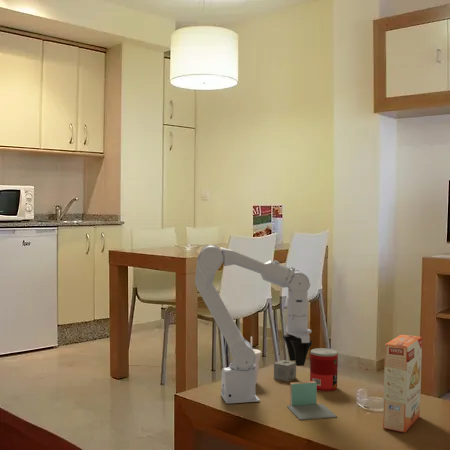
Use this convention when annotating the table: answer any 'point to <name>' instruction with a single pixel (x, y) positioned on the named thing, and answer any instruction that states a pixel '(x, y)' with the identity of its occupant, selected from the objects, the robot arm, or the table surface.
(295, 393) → the tile
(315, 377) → the canned food
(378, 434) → the table surface
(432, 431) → the table surface
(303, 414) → the mat
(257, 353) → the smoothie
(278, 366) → the dice cube
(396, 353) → the cracker box
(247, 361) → the robot arm
